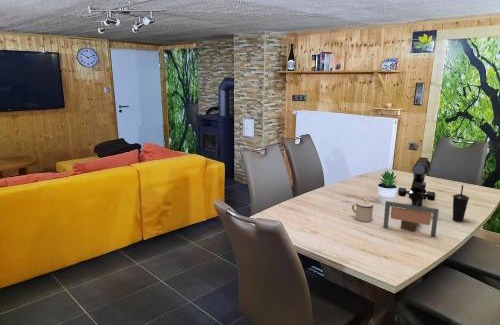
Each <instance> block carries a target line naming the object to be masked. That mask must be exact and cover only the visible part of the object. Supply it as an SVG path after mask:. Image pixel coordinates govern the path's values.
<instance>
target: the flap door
mask: <svg viewBox="0 0 500 325" xmlns="http://www.w3.org/2000/svg"><path fill="white" fill-rule="evenodd" d="M390 209H391V210H390V219H392V220H398V221H401V220H403V221H409V222H414V223H420V224H421V225H426V226H430V225H431V216H432V213H430V212H424V211H415V210H409V209H405V208H399V207H392V206H390ZM420 224H419V225H420Z"/></svg>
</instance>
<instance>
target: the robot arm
mask: <svg viewBox="0 0 500 325" xmlns="http://www.w3.org/2000/svg"><path fill="white" fill-rule="evenodd" d="M431 164H432V163H431V162H430V160H429V158H428V157H418V160H417V161H416V162H415V163H414V165H413V166H412V173H413V174H412V175H413V178H412V183H411V187H410V190H407V188H406V187H398V190H397V194H398V196H399V197H406V195H408V199H409V200H411V205H415V206H422V207H424V206H423V201H424V200H425V201H426V200H428V201H432V202H435V200H436V192H435V191H429V190H428V191H427V189H426V186H427V181H425V177H426V175H428V174H429V173H430V172H431Z"/></svg>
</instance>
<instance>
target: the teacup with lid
mask: <svg viewBox="0 0 500 325" xmlns="http://www.w3.org/2000/svg"><path fill="white" fill-rule="evenodd" d="M351 205H352V206H351V210H352V211H353V213H355V219H356V220H357V221H358V222H363V223H369V222H371V221H372V220H373V211H374V209H373V208H374V203H373V202H372V201H368V198H363V199H362V200H358V201H357V202H356V203H354V204H351ZM355 206H356V207H355ZM355 208H356V209H355Z"/></svg>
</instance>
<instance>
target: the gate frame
mask: <svg viewBox="0 0 500 325" xmlns="http://www.w3.org/2000/svg"><path fill="white" fill-rule="evenodd" d="M384 205H385V206H384V216H383V229H388V228H389V222H390V221H389V219H390V212H391V210H390V209H391V207H396V208H403V209H411V210H417V211H421V212H428V213H431V214H433V215H432V223H431V230H430V238H436V236H437V235H436V234H437V233H436V232H437V226H438V225H437V224H438V218H439V208H434V207H428V206H423V205H422V206H423V207H422V206H415V205H412V204H408V203H401V202H394V201H386V200H385V204H384Z"/></svg>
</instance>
